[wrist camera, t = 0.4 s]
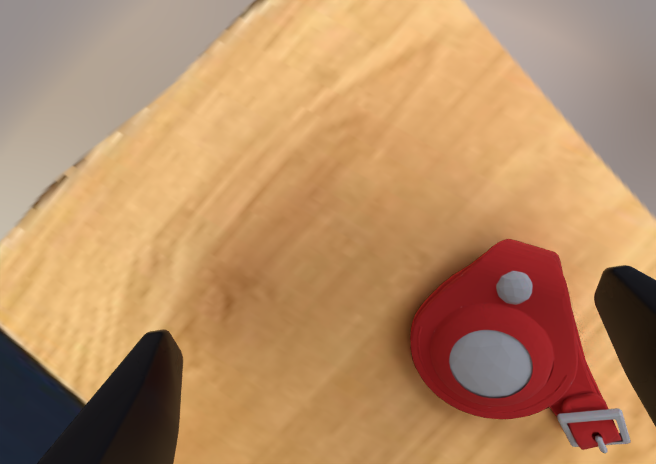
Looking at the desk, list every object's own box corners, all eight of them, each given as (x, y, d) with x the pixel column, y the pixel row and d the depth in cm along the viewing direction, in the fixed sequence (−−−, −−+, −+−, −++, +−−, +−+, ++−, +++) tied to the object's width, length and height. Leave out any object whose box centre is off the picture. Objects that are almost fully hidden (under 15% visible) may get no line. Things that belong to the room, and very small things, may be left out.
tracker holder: (387, 404, 24) (439, 238, 20) (400, 358, 28) (445, 213, 24) (629, 496, 21) (738, 323, 18) (604, 431, 25) (689, 280, 22)
